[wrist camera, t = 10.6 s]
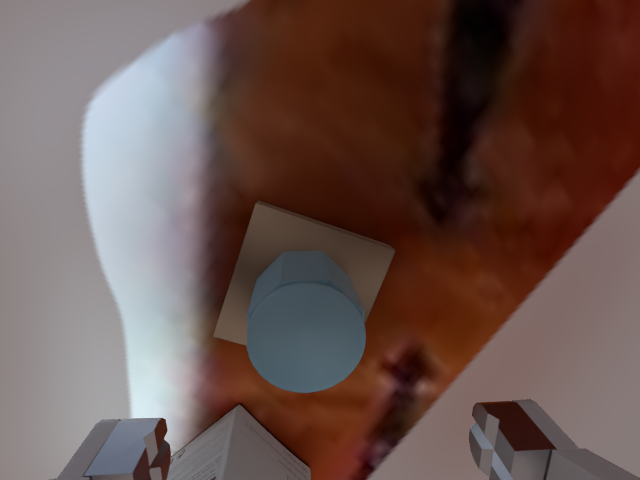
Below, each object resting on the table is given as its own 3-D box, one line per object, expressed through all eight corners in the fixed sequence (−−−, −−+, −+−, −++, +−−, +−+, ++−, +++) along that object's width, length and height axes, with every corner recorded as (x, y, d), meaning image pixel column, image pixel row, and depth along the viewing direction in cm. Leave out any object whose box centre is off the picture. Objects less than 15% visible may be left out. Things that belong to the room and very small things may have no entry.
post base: (258, 200, 19) (247, 213, 15) (389, 245, 20) (416, 270, 16) (217, 326, 21) (197, 372, 16) (341, 360, 22) (353, 412, 18)
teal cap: (256, 251, 19) (243, 286, 14) (349, 249, 19) (368, 283, 14) (259, 336, 20) (248, 395, 15) (346, 333, 20) (364, 389, 15)
